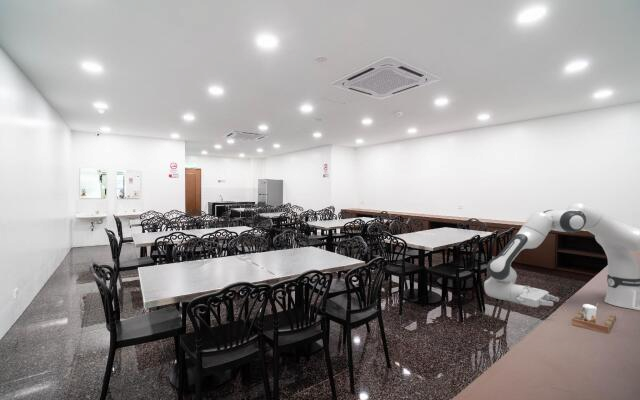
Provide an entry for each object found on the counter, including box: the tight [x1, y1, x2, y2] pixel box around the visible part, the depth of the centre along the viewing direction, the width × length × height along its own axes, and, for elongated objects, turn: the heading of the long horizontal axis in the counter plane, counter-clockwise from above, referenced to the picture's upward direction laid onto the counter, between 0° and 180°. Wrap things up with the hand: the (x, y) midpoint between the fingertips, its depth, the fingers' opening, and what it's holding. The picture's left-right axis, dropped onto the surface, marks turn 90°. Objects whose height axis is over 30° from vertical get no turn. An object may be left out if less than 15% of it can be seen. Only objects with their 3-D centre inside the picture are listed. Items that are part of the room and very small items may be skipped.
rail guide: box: [571, 307, 617, 334], centre depth 132 cm, size 24×11×2 cm, turn 130°
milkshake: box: [581, 302, 599, 323], centre depth 127 cm, size 5×5×10 cm
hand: (555, 301), depth 136 cm, fingers open, 8 cm apart
